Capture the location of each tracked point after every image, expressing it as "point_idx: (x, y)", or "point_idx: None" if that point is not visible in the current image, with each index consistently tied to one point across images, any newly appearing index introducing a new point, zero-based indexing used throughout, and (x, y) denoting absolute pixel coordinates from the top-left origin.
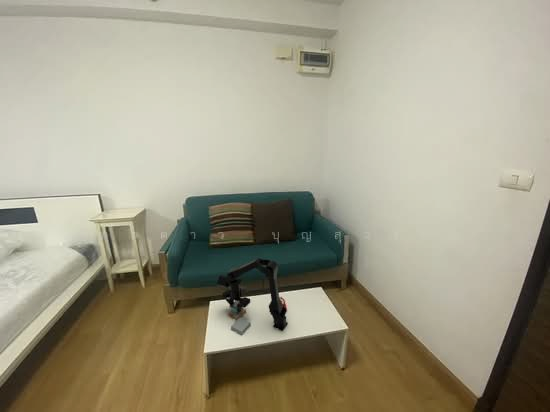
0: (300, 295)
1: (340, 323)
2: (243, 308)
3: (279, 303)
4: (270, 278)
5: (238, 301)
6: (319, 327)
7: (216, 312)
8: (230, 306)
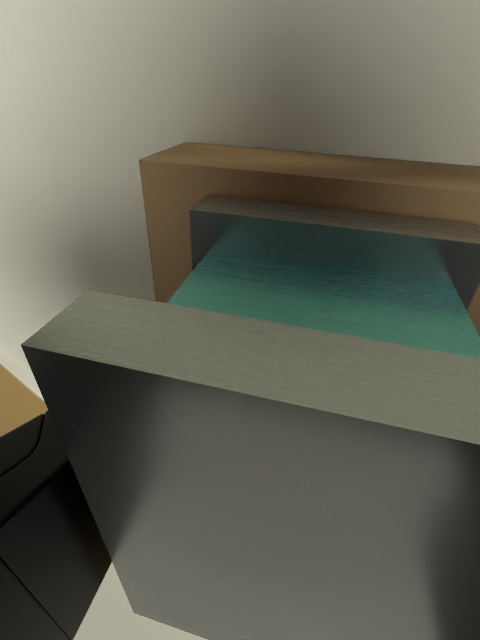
0: None
1: None
2: (464, 191)
3: None
4: None
5: (251, 462)
6: None
7: (19, 348)
8: (170, 622)
